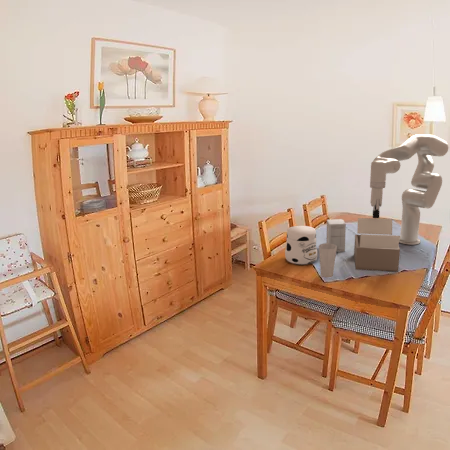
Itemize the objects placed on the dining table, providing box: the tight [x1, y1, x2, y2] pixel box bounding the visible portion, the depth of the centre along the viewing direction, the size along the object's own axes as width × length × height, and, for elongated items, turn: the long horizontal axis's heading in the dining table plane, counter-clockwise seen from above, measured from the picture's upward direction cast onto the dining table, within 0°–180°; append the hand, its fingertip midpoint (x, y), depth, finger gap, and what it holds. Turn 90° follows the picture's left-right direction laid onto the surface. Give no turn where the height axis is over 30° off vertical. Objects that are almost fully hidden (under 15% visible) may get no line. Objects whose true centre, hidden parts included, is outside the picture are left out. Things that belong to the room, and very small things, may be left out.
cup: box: [318, 242, 337, 279], centre depth 191 cm, size 8×8×16 cm
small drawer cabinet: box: [325, 218, 347, 253], centre depth 224 cm, size 10×9×17 cm
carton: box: [353, 234, 401, 273], centre depth 203 cm, size 20×20×12 cm
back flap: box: [356, 217, 393, 235], centre depth 210 cm, size 8×18×1 cm
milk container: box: [284, 225, 319, 266], centre depth 209 cm, size 17×17×18 cm
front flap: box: [360, 234, 400, 249], centre depth 188 cm, size 8×18×1 cm
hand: (375, 217), depth 209 cm, fingers closed
